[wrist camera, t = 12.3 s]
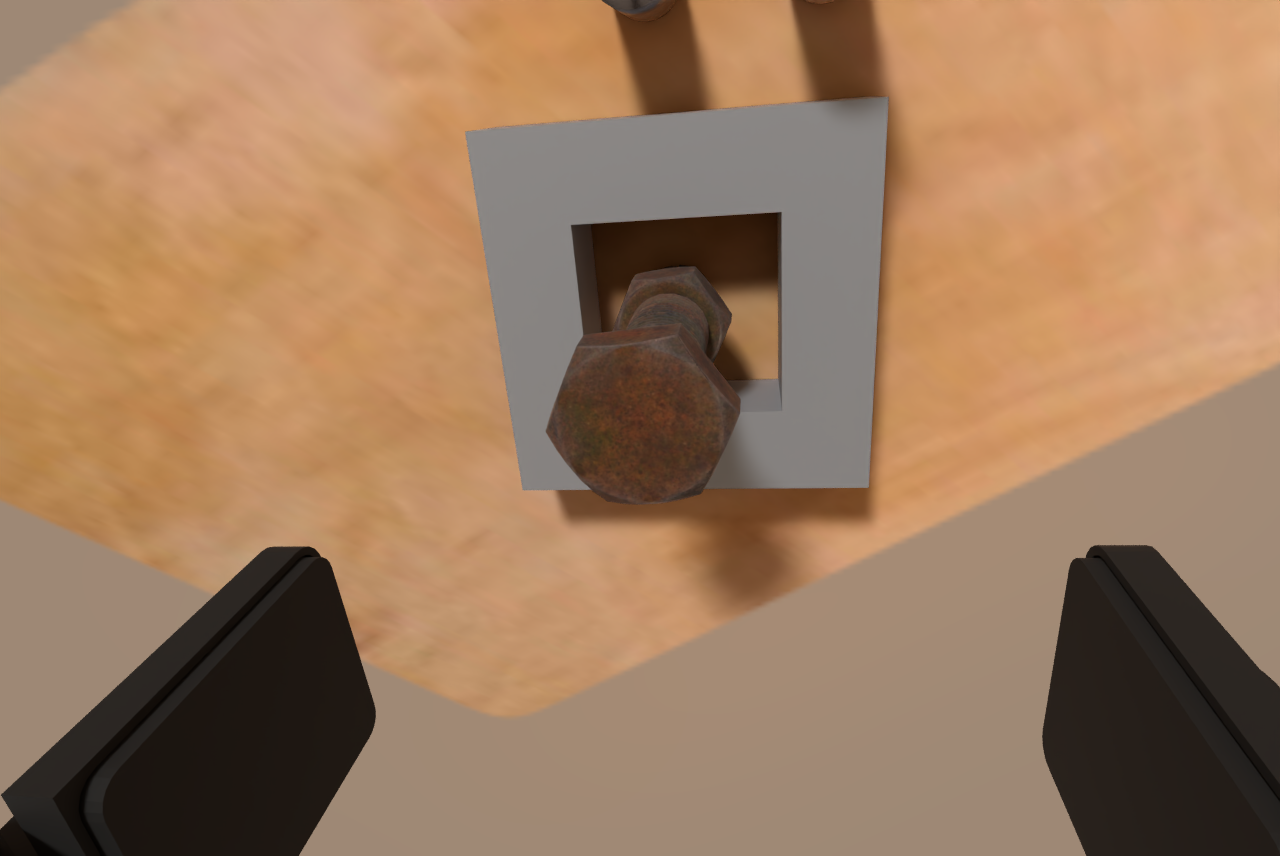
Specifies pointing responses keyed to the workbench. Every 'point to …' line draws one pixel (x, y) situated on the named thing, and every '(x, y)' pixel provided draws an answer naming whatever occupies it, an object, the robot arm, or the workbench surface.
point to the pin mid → (819, 1)
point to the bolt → (649, 394)
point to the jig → (683, 188)
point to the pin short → (642, 8)
